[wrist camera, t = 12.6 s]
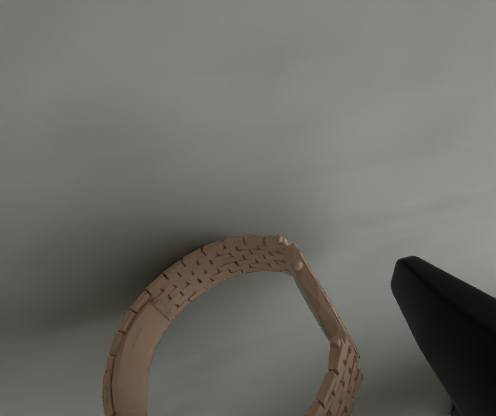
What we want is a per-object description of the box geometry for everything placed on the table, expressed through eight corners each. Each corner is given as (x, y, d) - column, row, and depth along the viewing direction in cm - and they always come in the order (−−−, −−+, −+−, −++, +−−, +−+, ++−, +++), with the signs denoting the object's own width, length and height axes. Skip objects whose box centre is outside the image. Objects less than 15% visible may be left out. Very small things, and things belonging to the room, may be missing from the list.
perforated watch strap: (299, 252, 12) (410, 439, 8) (140, 342, 12) (173, 568, 8) (259, 180, 10) (375, 377, 6) (73, 288, 10) (77, 541, 6)
